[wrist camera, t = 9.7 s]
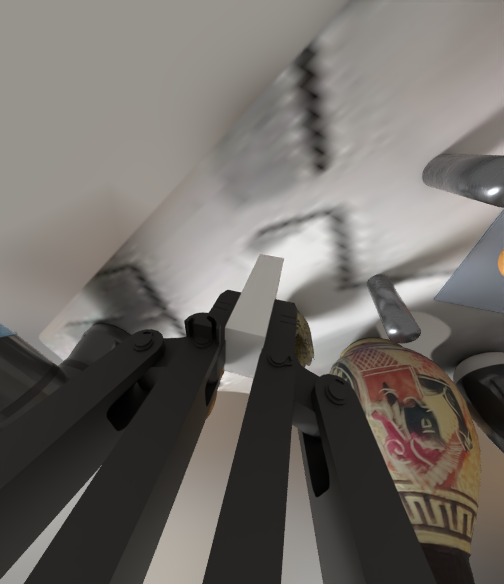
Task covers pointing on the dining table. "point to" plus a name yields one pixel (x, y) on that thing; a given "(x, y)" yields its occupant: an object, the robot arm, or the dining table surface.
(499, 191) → the gate post
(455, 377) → the grey smart speaker
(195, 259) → the dining table surface
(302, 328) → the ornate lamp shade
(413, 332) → the gate post
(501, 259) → the ball
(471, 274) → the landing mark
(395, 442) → the ceramic jug
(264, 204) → the dining table surface
